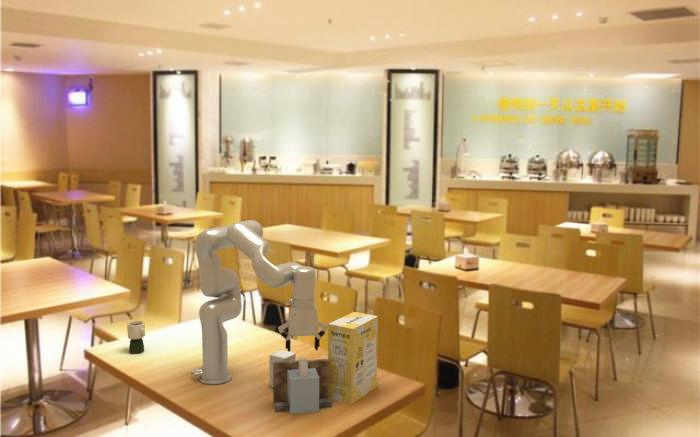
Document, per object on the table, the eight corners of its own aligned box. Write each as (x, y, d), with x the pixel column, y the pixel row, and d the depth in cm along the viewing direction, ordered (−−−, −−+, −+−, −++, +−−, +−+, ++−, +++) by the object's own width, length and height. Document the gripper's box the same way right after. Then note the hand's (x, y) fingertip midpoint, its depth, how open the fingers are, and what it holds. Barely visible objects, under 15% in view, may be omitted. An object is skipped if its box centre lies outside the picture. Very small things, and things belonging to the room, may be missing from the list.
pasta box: (352, 381, 251) (354, 311, 247) (376, 386, 245) (378, 316, 241) (327, 397, 235) (328, 323, 231) (351, 404, 230) (353, 328, 226)
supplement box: (284, 390, 241) (284, 358, 239) (268, 386, 244) (268, 354, 243) (296, 384, 247) (296, 352, 245) (280, 379, 251) (280, 348, 249)
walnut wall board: (275, 411, 223) (275, 370, 221) (273, 402, 230) (273, 362, 228) (332, 407, 227) (332, 366, 225) (327, 397, 235) (328, 358, 233)
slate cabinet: (290, 414, 221) (290, 365, 219) (287, 403, 230) (287, 356, 227) (318, 411, 223) (319, 363, 221) (314, 400, 232) (315, 354, 230)
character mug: (151, 352, 279) (151, 323, 277) (138, 356, 273) (137, 327, 271) (135, 347, 284) (134, 318, 282) (121, 351, 278) (120, 322, 276)
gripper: (279, 306, 216) (278, 354, 218) (330, 304, 219) (328, 352, 222) (277, 299, 223) (276, 346, 226) (326, 298, 227) (324, 344, 229)
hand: (302, 349), depth 224 cm, fingers open, 9 cm apart
